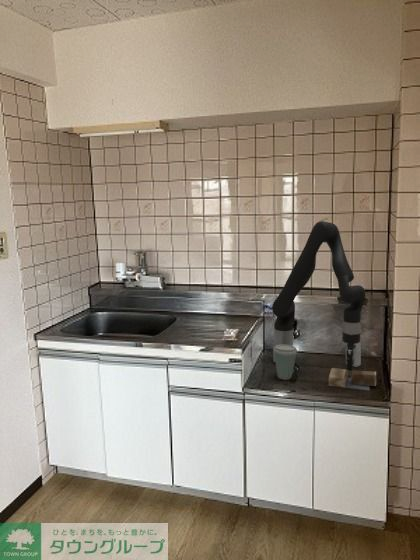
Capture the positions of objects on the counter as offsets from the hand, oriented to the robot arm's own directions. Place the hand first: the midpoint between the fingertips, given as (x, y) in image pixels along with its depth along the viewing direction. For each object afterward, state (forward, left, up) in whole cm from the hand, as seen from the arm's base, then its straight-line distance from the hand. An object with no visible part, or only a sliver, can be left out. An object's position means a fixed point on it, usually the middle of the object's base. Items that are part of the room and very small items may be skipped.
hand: (350, 367), depth 203 cm
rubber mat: (+4, 0, -7) cm, 8 cm away
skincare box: (0, +23, -8) cm, 24 cm away
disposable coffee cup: (-28, -2, -8) cm, 30 cm away
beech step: (-5, 0, -7) cm, 9 cm away
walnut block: (+1, 0, -5) cm, 5 cm away
